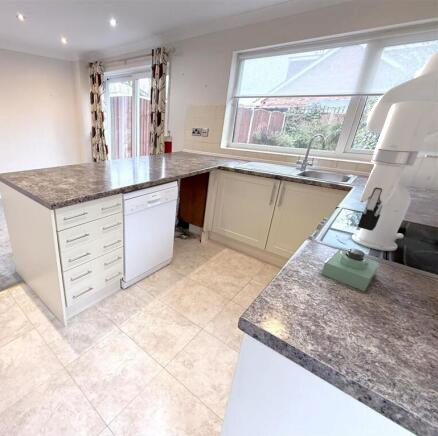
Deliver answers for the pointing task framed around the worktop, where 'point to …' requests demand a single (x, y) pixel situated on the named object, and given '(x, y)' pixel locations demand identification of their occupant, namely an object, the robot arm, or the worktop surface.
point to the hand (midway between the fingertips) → (366, 227)
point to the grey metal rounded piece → (355, 254)
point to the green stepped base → (350, 270)
